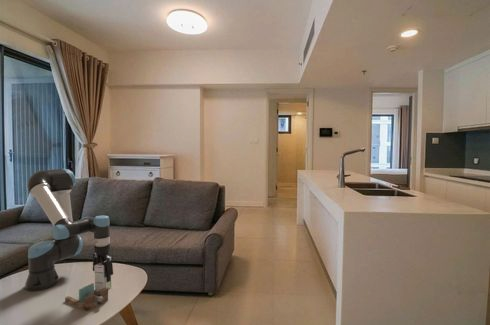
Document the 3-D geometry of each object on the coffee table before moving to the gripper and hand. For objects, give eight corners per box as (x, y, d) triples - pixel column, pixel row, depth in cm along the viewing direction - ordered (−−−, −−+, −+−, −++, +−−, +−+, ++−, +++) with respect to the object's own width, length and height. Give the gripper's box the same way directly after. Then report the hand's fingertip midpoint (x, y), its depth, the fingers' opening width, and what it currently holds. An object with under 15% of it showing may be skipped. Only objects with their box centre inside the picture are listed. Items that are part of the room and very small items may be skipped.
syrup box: (104, 292, 145) (103, 266, 144) (94, 291, 146) (94, 265, 145) (111, 287, 150) (111, 261, 150) (102, 285, 152) (101, 260, 151)
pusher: (79, 303, 134) (78, 289, 134) (92, 296, 140) (92, 283, 140) (94, 310, 128) (94, 296, 128) (108, 302, 135) (108, 289, 134)
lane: (65, 301, 136) (64, 289, 136) (86, 291, 146) (86, 280, 146) (86, 311, 128) (86, 299, 128) (108, 299, 138) (107, 288, 137)
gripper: (84, 243, 148) (85, 284, 149) (107, 250, 139) (108, 293, 140) (97, 239, 155) (98, 278, 156) (120, 245, 146) (121, 286, 147)
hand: (103, 285), depth 148 cm, fingers closed on syrup box, 7 cm apart
